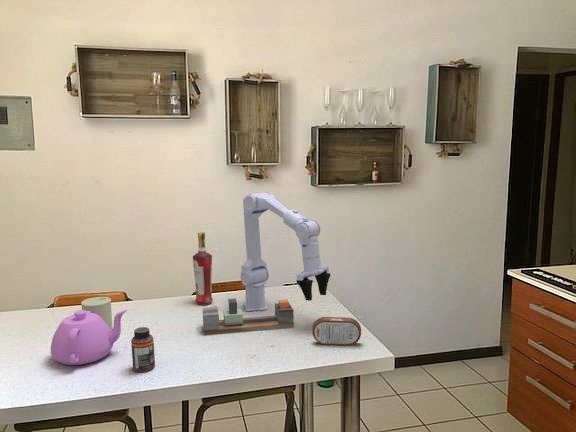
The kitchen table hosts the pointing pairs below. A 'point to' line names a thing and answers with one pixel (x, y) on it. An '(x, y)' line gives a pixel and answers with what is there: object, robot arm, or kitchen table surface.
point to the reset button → (283, 304)
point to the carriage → (233, 314)
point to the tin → (336, 331)
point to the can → (99, 308)
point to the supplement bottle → (142, 350)
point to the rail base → (247, 321)
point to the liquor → (202, 272)
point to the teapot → (84, 338)
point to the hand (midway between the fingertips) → (316, 297)
